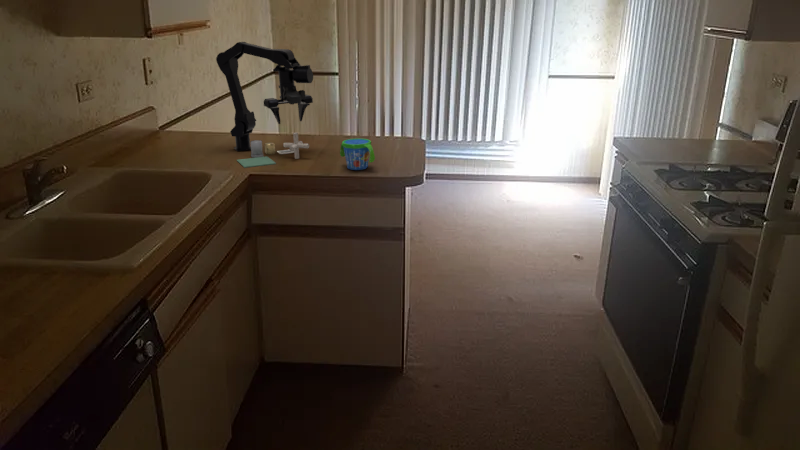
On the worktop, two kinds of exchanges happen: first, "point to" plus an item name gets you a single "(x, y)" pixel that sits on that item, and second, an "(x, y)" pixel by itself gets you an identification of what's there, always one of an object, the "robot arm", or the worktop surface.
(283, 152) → the label tile
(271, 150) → the brass fitting
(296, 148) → the pipe connector
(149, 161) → the worktop surface
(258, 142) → the cylinder
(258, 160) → the mat
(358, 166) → the snack cup
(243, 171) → the worktop surface
